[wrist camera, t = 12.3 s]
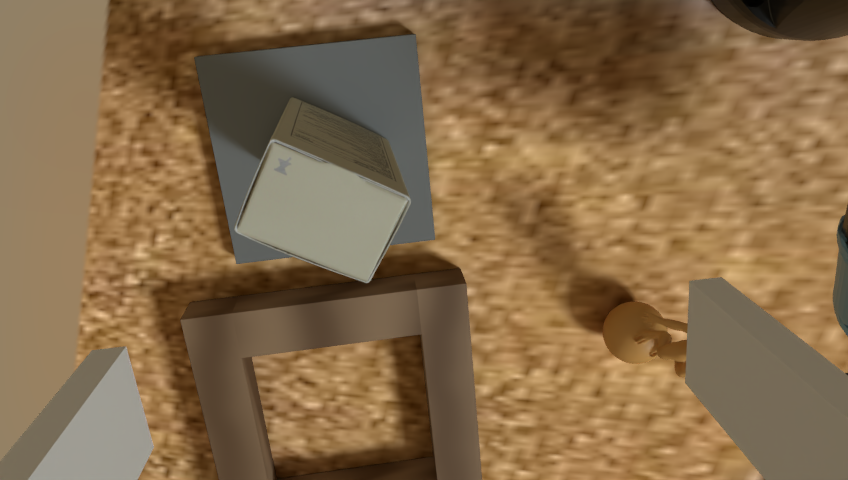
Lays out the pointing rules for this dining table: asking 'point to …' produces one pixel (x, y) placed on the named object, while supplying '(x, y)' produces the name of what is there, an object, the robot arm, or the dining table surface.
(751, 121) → the dining table surface
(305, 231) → the skincare box
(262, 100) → the slate pad
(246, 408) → the stand
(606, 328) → the figurine
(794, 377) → the robot arm
